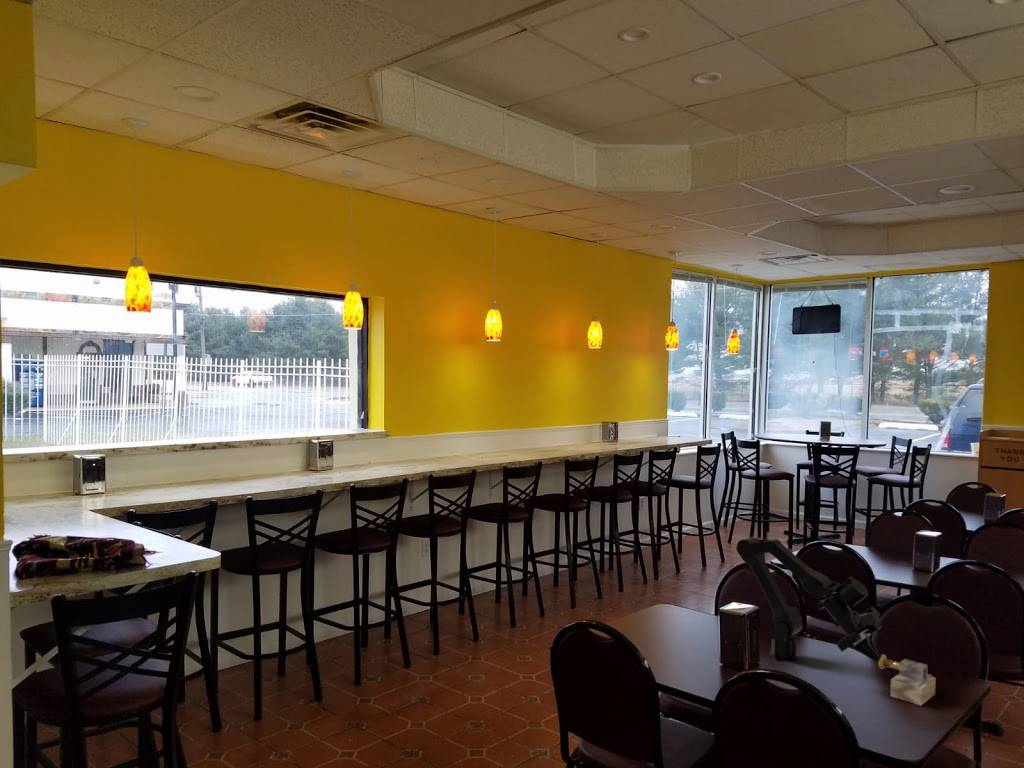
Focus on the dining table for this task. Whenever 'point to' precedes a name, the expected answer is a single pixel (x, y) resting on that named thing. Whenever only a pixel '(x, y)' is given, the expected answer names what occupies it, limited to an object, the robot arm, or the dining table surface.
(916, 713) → the dining table surface
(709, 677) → the dining table surface
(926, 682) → the hinge block
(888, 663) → the pin
